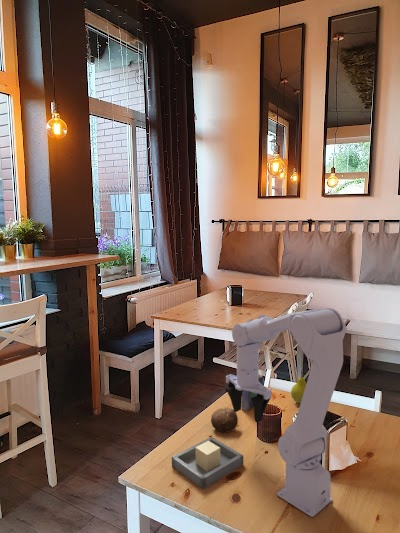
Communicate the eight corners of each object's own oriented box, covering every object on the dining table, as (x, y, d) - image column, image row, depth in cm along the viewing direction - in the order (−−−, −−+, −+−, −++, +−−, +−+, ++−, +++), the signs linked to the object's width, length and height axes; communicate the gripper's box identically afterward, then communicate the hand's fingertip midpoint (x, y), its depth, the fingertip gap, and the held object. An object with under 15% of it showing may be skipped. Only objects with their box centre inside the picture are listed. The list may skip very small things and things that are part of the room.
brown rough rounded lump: (223, 407, 128) (223, 398, 123) (243, 423, 123) (243, 414, 119) (206, 426, 124) (205, 417, 120) (226, 443, 120) (225, 434, 115)
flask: (246, 412, 131) (246, 378, 130) (238, 409, 133) (238, 375, 132) (264, 402, 138) (264, 370, 136) (257, 399, 140) (257, 367, 139)
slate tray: (243, 464, 104) (243, 455, 103) (202, 489, 94) (202, 479, 94) (211, 445, 113) (211, 436, 112) (171, 466, 103) (171, 456, 103)
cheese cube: (220, 464, 103) (220, 447, 102) (207, 471, 100) (207, 454, 100) (208, 456, 106) (208, 440, 106) (195, 463, 103) (195, 447, 103)
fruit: (293, 396, 142) (294, 364, 140) (313, 400, 139) (314, 366, 137) (289, 405, 136) (289, 371, 134) (309, 409, 133) (310, 374, 131)
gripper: (217, 363, 109) (218, 410, 111) (258, 379, 98) (258, 431, 100) (235, 357, 114) (235, 402, 115) (276, 371, 103) (276, 421, 104)
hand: (247, 415), depth 108 cm, fingers open, 7 cm apart
